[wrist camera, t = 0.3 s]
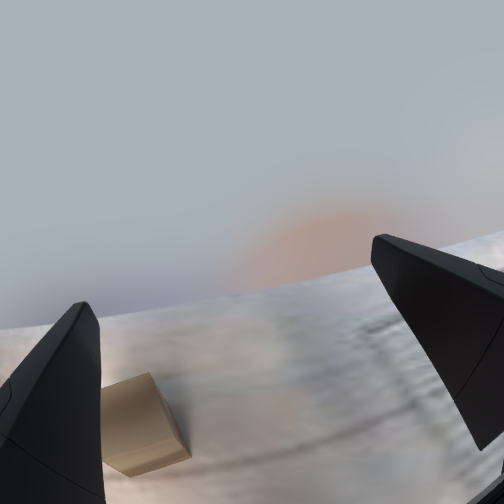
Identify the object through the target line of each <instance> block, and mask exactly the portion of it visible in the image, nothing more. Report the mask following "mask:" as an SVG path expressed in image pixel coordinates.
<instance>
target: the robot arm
mask: <svg viewBox="0 0 504 504" xmlns="http://www.w3.org/2000/svg"><path fill="white" fill-rule="evenodd" d="M371 263H372V265H373V267H374V269H375V271H376V273H377V274H378V276H379V278H380V280H381V282H382V283H383V285H384V287H385V289H386V291H387V293H388V295H389V296H390V298H391V300H392V301H393V303H394V304H395V306H396V308H397V309H398V311H399V312H400V314H401V315H402V317H403V318H404V320H405V321H406V323H407V324H408V326H409V327H410V329H411V330H412V332H413V333H414V335H415V337H416V338H417V340H418V341H419V343H420V345H421V346H422V348H423V349H424V351H425V353H426V354H427V356H428V357H429V359H430V361H431V362H432V364H433V366H434V367H435V369H436V371H437V372H438V374H439V376H440V378H441V379H442V381H443V383H444V385H445V386H446V388H447V390H448V392H449V393H450V395H451V397H452V399H453V400H454V403H455V404H456V406H457V408H458V410H459V412H460V414H461V416H462V417H463V419H464V421H465V423H466V425H467V427H468V429H469V431H470V433H471V435H472V437H473V439H474V441H475V443H476V445H477V447H478V449H479V450H480V451H482V450H483V449H484V448H485V447H487V446H488V445H489V444H490V443H491V442H492V441H494V440H495V439H496V438H497V437H498V436H499V435H500V434H502V433H503V432H504V273H503V272H500V271H497V270H494V269H491V268H488V267H486V266H483V265H480V264H476V263H474V262H471V261H468V260H466V259H463V258H460V257H457V256H454V255H451V254H448V253H445V252H442V251H439V250H436V249H433V248H430V247H427V246H424V245H420V244H417V243H414V242H411V241H408V240H404V239H401V238H398V237H395V236H391V235H388V234H381V235H377V236H375V237H374V238H373V243H372V251H371ZM501 474H502V475H501V476H499V477H498V478H497V479H496V480H495V481H494V482H493V483H492V484H490V485H489V486H488V487H487V488H486V489H484V490H483V491H482V492H481V493H480V494H478V495H477V496H476V497H475V498H473V499H472V500H471V501H470V502H468V503H467V504H504V461H503V467H502V472H501ZM0 504H106V500H105V491H104V481H103V468H102V452H101V352H100V327H99V323H98V320H97V319H96V317H95V315H94V313H93V311H92V309H91V307H90V305H89V304H88V303H87V302H85V301H83V302H78V303H75V304H73V305H72V306H71V308H69V310H68V311H67V312H66V313H65V314H64V315H63V316H62V317H61V318H60V319H59V320H58V321H57V322H56V323H55V325H54V326H53V327H52V328H51V329H50V330H49V331H48V332H47V333H46V334H45V336H44V337H43V338H42V339H41V340H40V341H39V342H38V343H37V345H36V346H35V347H34V348H33V349H32V350H31V352H30V353H29V354H28V355H27V356H26V357H25V359H24V360H23V361H22V362H21V363H20V364H19V366H18V367H17V368H16V369H15V371H14V372H13V373H12V374H11V375H10V378H8V379H7V380H6V382H5V383H4V384H3V385H2V387H1V388H0Z"/></svg>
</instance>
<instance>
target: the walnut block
mask: <svg viewBox="0 0 504 504" xmlns="http://www.w3.org/2000/svg"><path fill="white" fill-rule="evenodd" d="M101 452H102V462H104V463H106V464H107V465H109V466H111V467H112V468H114V469H116V470H118V471H119V472H121V473H123V474H125V475H126V476H128V477H133V476H137V475H140V474H143V473H147V472H150V471H153V470H157V469H160V468H163V467H166V466H169V465H172V464H175V463H178V462H181V461H183V460H186V459H189V458H192V457H191V455H190V453H189V451H188V449H187V447H186V445H185V442H184V440H183V438H182V436H181V434H180V431H179V429H178V427H177V425H176V422H175V420H174V418H173V415H172V413H171V411H170V408H169V406H168V403H167V402H166V400H165V399H164V397H163V395H162V394H161V392H160V390H159V389H158V387H157V385H156V384H155V382H154V380H153V378H152V377H151V375H150V373H146V374H143V375H140V376H137V377H134V378H132V379H129V380H126V381H123V382H120V383H117V384H114V385H111V386H108V387H104V388H101Z"/></svg>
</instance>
